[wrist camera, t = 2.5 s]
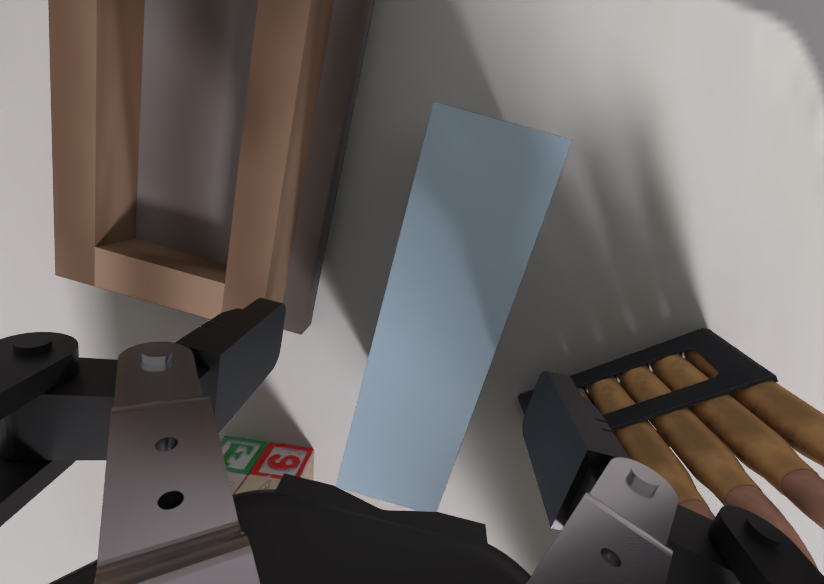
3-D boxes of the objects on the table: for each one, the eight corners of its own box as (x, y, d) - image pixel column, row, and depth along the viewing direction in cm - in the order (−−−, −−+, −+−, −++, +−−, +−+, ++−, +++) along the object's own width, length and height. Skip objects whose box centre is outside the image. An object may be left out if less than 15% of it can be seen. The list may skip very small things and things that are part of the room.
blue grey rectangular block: (518, 153, 19) (573, 139, 11) (440, 391, 24) (435, 515, 15) (441, 132, 19) (433, 101, 11) (376, 373, 24) (335, 486, 15)
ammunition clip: (706, 326, 21) (1012, 511, 10) (716, 355, 21) (1019, 565, 10) (516, 395, 23) (581, 611, 12) (528, 420, 24) (601, 652, 12)
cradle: (403, -148, 16) (389, -244, 13) (310, 324, 23) (283, 354, 19) (105, -228, 16) (1, -347, 13) (99, 264, 23) (30, 282, 19)
